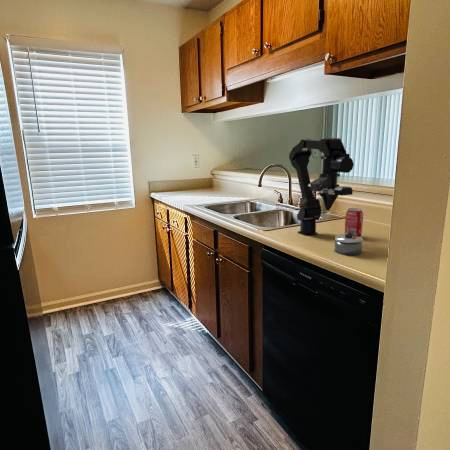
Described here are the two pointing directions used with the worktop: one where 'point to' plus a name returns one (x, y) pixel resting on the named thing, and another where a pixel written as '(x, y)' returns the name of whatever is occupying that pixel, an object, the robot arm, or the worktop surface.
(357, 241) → the cooker lid
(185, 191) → the worktop surface
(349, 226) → the soda can
